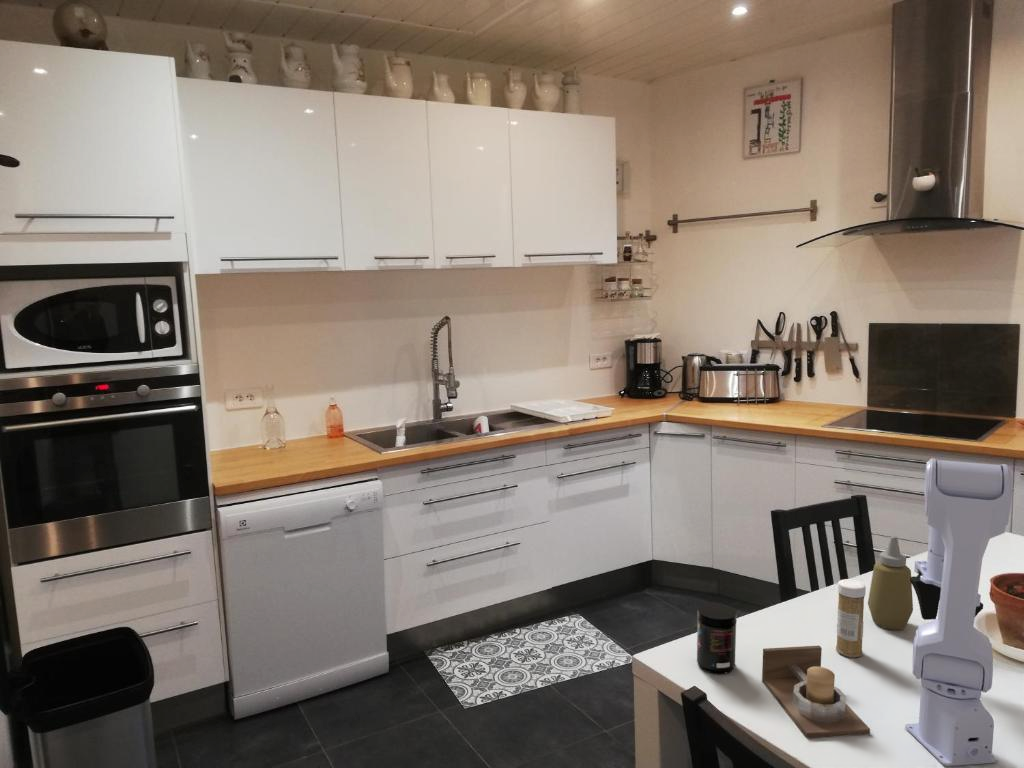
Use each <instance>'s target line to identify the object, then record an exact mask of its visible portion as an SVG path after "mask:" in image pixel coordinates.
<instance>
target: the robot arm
mask: <svg viewBox="0 0 1024 768" xmlns="http://www.w3.org/2000/svg"><path fill="white" fill-rule="evenodd" d="M1013 480H1014V478H1013V471H1012V469H1011V467H1009V466H1008V464H1005V463H1001V464H992V463H991V464H990V463H979V462H966V461H955V460H954V461H953V460H944V459H943V460H941V459H936V458H933V457H932V458H930V459H929V460H928V461H927V462H926V465H925V474H924V500H925V504H924V505H925V508H924V509H925V511H924V512H925V513H924V515H925V516H926V519H927V520H926V521H927V522H926V523H927V525H929V526H928V527H929V529H928V543H927V544H928V545H927V556H926V557H927V560H922V561H921V560H920V561H919V560H917V561H914V568H913V569H914V573H916V574H917V575H916V576H911V577H910V582H911V583H912V588H913V589H914V592H915V595H916V597H917V602H918V606H919V611H920V615H921V618H922V619H923V620H925V621H927V620H928V621H927V622H924V623H922V624H921V623H920V624H919V625H918V626H917V629H916V630H915V635H914V638H913V642H912V643H913V646H912V662H911V663H912V668H911V669H912V674H913V676H914V677H915V678H916V679H917V680H920V684H921V685H920V700H919V701H920V702H919V714H918V715H919V716H918V722H916V723H915V722H914V723H905V725H904V726H905V729H906V730H907V731H908V732H909V733H910V734H911V735H912V736H913V737H914V738H915V739H917V741H919V743H921V745H922V746H924V747H925V748H926V749H927V751H928V752H930V754H932V755H933V756H934V757H935V758H936V759H937V760H938V761H939V762H940V763H941V764H942V765H944V766H946V767H951V766H968V765H980V764H994V763H995V764H996V763H997V762H998V759H997V757H995V756H994V755H993V754H992V753H993V746H994V745H993V743H994V742H993V741H994V728H995V722H994V718H993V716H992V715H991V713H990V712H989V710H987V709H986V707H985V706H984V704H983V703H982V701H981V698H982V697H981V695H982V693H985V694H986V693H988V692H989V691H990V690H991V688H992V687H993V677H994V673H993V672H994V663H993V662H994V654H993V645H992V643H991V642H990V638H989V637H988V636H987V634H985V633H983V632H982V631H980V630H979V629H977V628H976V627H975V625H974V624H975V618H976V617H977V616H978V614H979V613H980V612H982V610H983V609H984V604H983V603H982V602H981V599H982V598H981V596H982V595H981V594H980V593H979V586H980V579H981V572H982V563H983V558H984V555H985V553H986V550H987V547H988V545H989V542H990V541H991V540H990V539H993V538H995V537H997V536H1001V535H1002V534H1005V533H1006V528H1007V527H1006V526H1008V525H1009V521H1010V515H1011V506H1012V502H1013V501H1012V499H1013V488H1014V483H1013V482H1014V481H1013ZM929 620H930V621H929Z"/></svg>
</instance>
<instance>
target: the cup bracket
mask: <svg viewBox="0 0 1024 768" xmlns="http://www.w3.org/2000/svg"><path fill="white" fill-rule="evenodd" d="M822 650H823V649H822V647H821V646H820V645H805V646H787V647H786V646H785V647H768V648H762V665H761V666H762V673H761V682H762V683H763V684H765V685H766V686H765V685H764V686H765V688H766V689H767V690H768V691H769V692H770V694H771V695H772V696H773V698H774V699H775V700H776V701H777V702H778V704H779V705H780V706H781V708H782V709H783V711H784V712H785V713H786V715H788V717H789V718H790V719H791V720H792V722H793V723H794V724H795V725H796V727H797V728H798V729H799V731H800V732H801V733H802V735H803V736H804V737H805V738H806V739H812V738H813V739H814V738H815V739H816V738H826V737H827V738H830V737H842V736H843V737H844V736H845V737H846V736H857V735H870V734H871V728H870V727H869V726H868V725H867V724H866V723H865V722H864V721H863V719H861V717H859V715H858V714H857V713H856V712H855V711H854V710H853V709H852V708H851V707H850V706H849V705H848V704H847V695H846V694H845V693H844V692H843V691H842V690H841V689H840V688H838V687H836V686H834V701H833V704H828V705H823V704H818V703H814V702H811V701H809V700H807V699H806V690H807V670H808V668H810V667H822Z"/></svg>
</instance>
